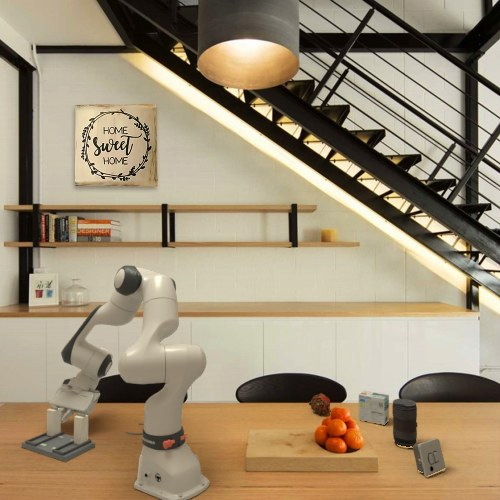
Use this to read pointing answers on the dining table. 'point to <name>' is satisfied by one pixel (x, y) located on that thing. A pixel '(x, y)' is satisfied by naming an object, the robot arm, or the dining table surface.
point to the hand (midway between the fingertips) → (60, 421)
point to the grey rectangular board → (57, 446)
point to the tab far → (53, 421)
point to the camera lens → (404, 422)
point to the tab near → (80, 428)
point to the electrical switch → (429, 456)
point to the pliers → (135, 433)
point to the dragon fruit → (320, 404)
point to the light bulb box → (374, 407)
